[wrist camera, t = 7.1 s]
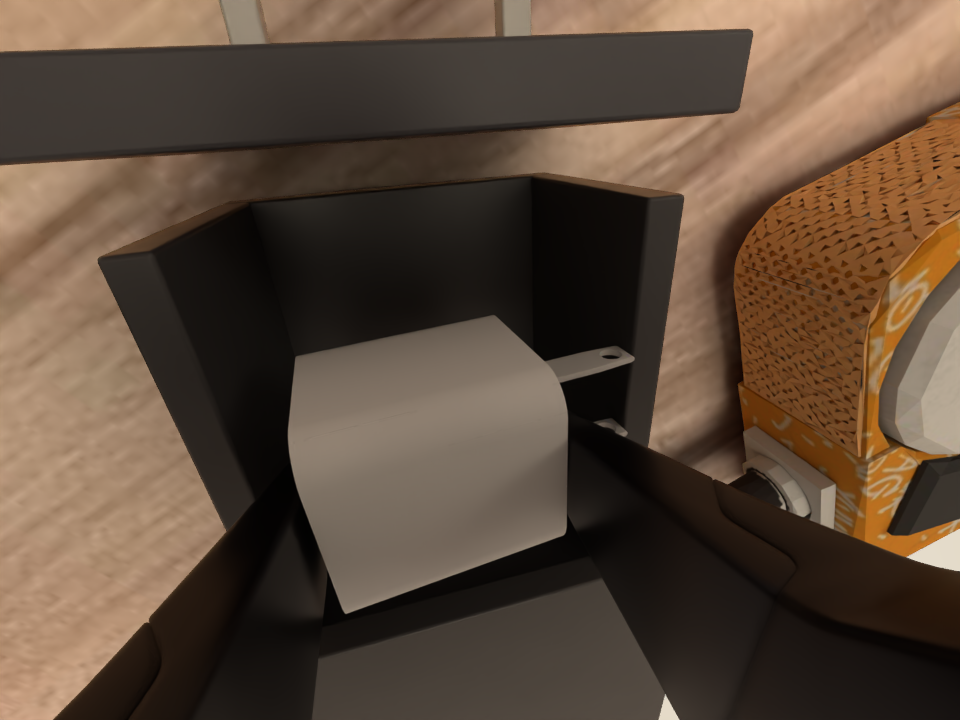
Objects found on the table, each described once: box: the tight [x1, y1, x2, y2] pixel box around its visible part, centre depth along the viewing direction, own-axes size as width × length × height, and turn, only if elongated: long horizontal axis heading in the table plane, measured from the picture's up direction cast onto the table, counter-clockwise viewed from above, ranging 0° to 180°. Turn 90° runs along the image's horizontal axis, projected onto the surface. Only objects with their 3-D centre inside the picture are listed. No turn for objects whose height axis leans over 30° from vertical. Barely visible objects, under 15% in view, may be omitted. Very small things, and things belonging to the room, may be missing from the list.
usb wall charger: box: [288, 315, 635, 614], centre depth 9 cm, size 4×7×4 cm, turn 95°
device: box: [728, 102, 960, 557], centre depth 20 cm, size 23×8×30 cm
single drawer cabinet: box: [312, 556, 665, 720], centre depth 18 cm, size 15×13×10 cm
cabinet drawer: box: [0, 0, 753, 627], centre depth 11 cm, size 18×11×8 cm, turn 4°
